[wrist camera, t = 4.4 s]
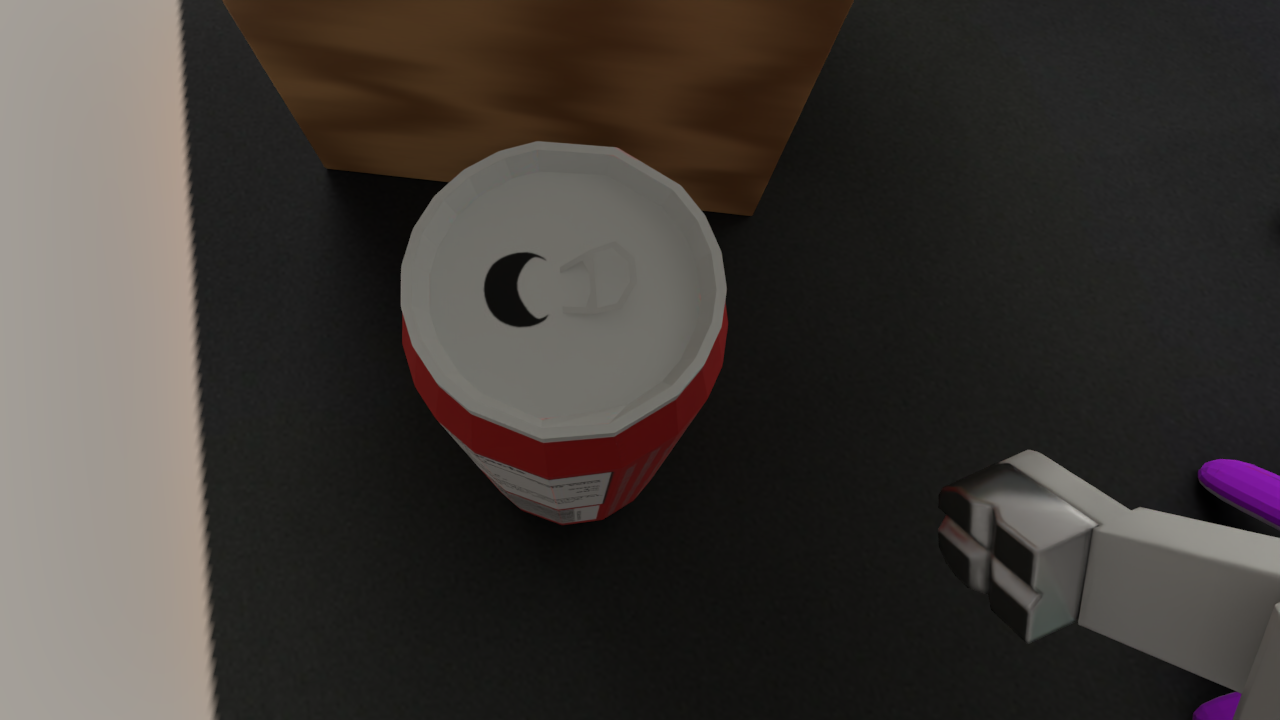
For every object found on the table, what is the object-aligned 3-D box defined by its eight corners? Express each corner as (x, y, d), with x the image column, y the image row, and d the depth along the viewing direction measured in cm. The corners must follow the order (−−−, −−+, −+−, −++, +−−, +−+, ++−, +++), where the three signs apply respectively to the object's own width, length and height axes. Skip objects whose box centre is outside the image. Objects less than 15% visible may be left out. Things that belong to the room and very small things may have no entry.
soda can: (652, 348, 22) (726, 108, 11) (670, 516, 21) (778, 439, 9) (481, 358, 22) (375, 117, 10) (486, 533, 20) (365, 472, 9)
